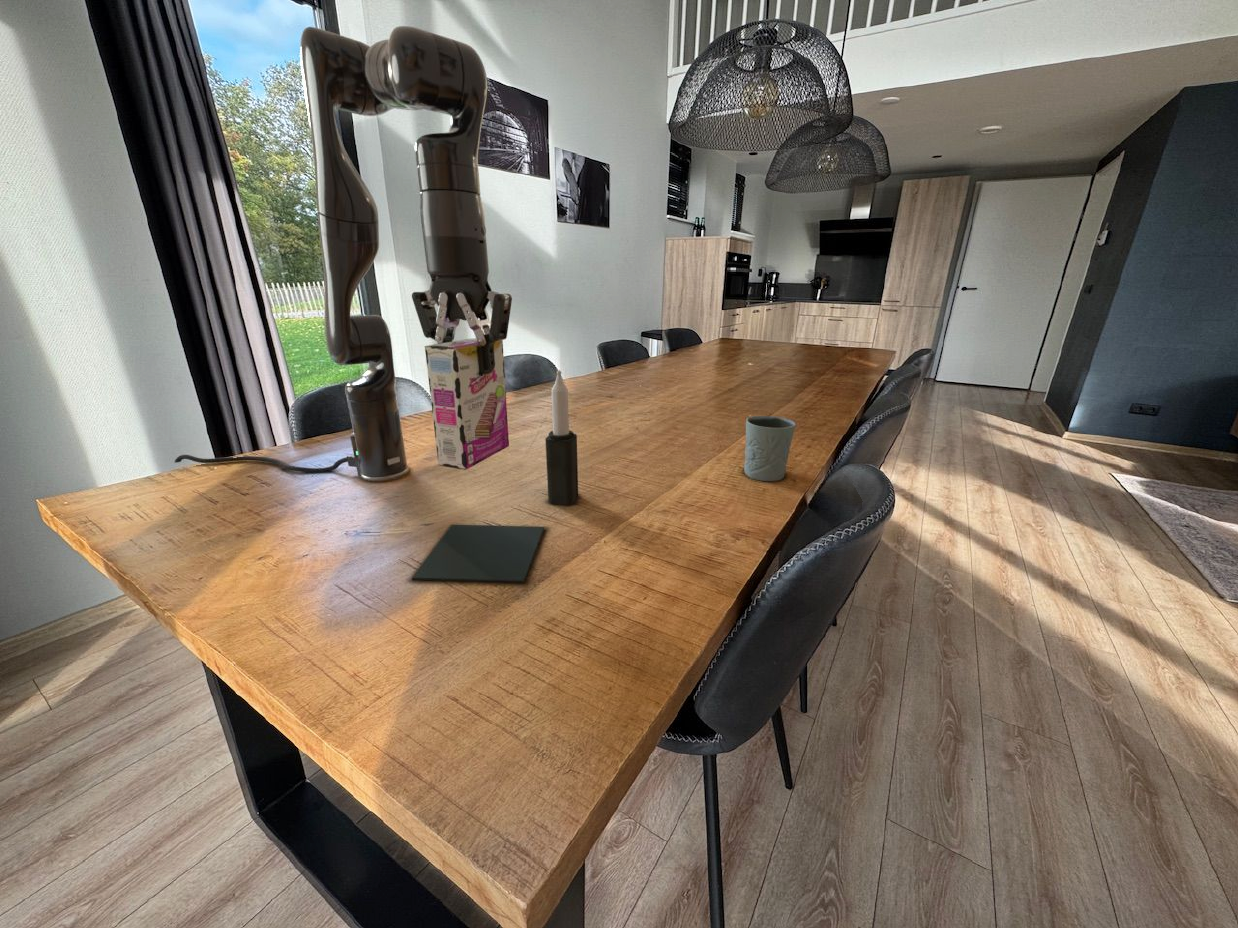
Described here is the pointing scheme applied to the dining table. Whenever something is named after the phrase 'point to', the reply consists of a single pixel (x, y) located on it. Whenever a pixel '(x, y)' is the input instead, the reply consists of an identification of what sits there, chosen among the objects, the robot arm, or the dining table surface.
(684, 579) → the dining table surface
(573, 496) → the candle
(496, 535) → the mat
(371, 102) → the robot arm
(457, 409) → the candy bar box
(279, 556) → the dining table surface
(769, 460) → the grey green embossed cup
